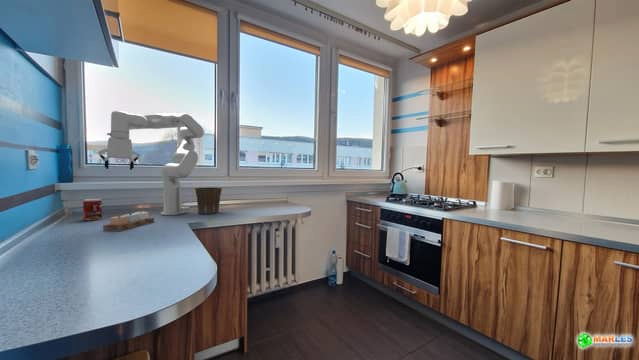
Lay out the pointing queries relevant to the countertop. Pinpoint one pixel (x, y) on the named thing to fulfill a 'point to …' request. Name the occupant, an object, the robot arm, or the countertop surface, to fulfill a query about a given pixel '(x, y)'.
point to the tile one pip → (142, 215)
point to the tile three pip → (118, 220)
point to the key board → (127, 225)
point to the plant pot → (208, 200)
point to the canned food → (92, 208)
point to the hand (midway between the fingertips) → (119, 169)
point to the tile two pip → (132, 217)
